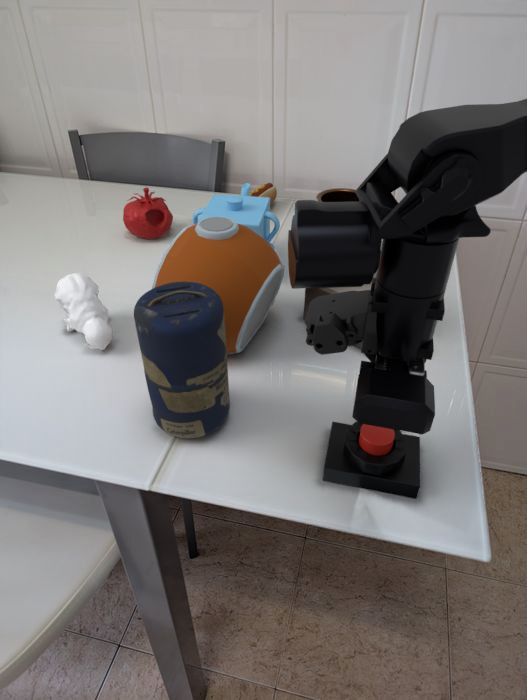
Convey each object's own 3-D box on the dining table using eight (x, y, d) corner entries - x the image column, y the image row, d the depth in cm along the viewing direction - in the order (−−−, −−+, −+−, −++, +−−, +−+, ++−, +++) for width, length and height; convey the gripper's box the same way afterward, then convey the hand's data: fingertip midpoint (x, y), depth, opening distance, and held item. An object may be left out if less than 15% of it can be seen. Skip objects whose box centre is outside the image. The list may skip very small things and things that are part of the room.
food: (250, 224, 106) (250, 202, 103) (229, 219, 108) (228, 197, 105) (281, 203, 116) (281, 182, 113) (260, 198, 118) (260, 177, 115)
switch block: (416, 449, 58) (423, 425, 55) (416, 499, 52) (424, 475, 50) (330, 434, 59) (333, 410, 57) (322, 480, 54) (325, 456, 52)
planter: (364, 234, 103) (371, 188, 97) (369, 258, 94) (376, 210, 88) (312, 232, 104) (315, 186, 98) (311, 256, 95) (315, 208, 89)
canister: (230, 443, 58) (223, 317, 47) (149, 446, 58) (122, 319, 47) (230, 388, 66) (224, 267, 55) (158, 390, 65) (137, 269, 54)
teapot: (274, 285, 86) (275, 215, 78) (187, 278, 88) (180, 209, 80) (286, 240, 100) (288, 177, 92) (211, 235, 102) (207, 172, 94)
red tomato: (116, 239, 101) (107, 194, 95) (142, 220, 108) (136, 177, 102) (159, 247, 98) (153, 201, 92) (183, 227, 105) (178, 183, 100)
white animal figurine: (89, 262, 75) (119, 305, 67) (99, 307, 80) (128, 351, 73) (46, 274, 72) (73, 320, 65) (59, 319, 78) (85, 366, 70)
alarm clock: (201, 288, 86) (193, 189, 75) (296, 310, 80) (302, 207, 70) (138, 351, 72) (116, 241, 61) (247, 383, 66) (245, 268, 56)
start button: (392, 434, 55) (395, 423, 54) (391, 459, 52) (394, 447, 51) (360, 428, 55) (362, 417, 54) (357, 452, 53) (359, 441, 51)
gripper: (330, 225, 50) (319, 346, 60) (295, 330, 36) (288, 468, 45) (444, 237, 48) (413, 361, 58) (455, 353, 34) (412, 492, 43)
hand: (382, 412), depth 51 cm, fingers closed
